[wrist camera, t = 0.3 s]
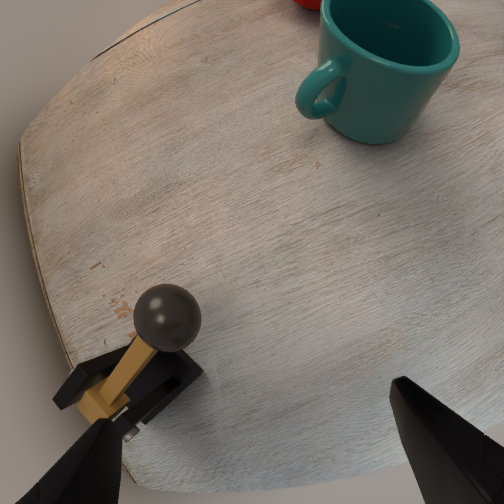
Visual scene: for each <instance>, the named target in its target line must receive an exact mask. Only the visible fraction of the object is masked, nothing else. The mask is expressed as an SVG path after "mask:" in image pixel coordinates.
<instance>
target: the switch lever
mask: <svg viewBox="0 0 504 504" xmlns="http://www.w3.org/2000/svg"><path fill="white" fill-rule="evenodd" d="M133 318H134V326H135V329H136V331H137V333H138V336H137V337H136V339H135V340H134V341H133V343H132V344H131V346H130V347H129V349H128V350H127V352H126V353H125V354H124V356H123V357H122V359H121V360H120V362H119V363H118V365H117V366H116V368H115V369H114V371H113V372H112V373H111V375H110V376H108V377H107V378H105V379H104V380H102V381H101V382H99V383H97V384H96V385H94V386H93V387H91V388H90V389H88V390H87V391H85V393H84V395H83V397H82V398H81V400H80V402H79V404H78V406H77V408H78V409H79V411H81V413H82V414H83V415H84V416H85V418H86V419H87V420H88V421H89V422H90V423H91V424H93V423H94V422H95V421H96V420H97V419H99V418H109V419H111V420H112V419H113V418H115V417H116V416H117V415H118V414H119V413H120V412H121V411H122V410H123V409H124V408H125V406H126V405H127V404H128V403H129V402H130V401H131V400H130V399H129V397H128V396H127V395H126V394H125V393H124V392H125V391H126V389H127V388H128V387H129V386H130V385H131V383H132V382H133V381H134V380H135V378H136V377H137V376H138V375H139V373H140V372H141V371H142V370H143V369H144V367H145V366H146V365H147V364H148V362H149V361H150V360H151V359H152V358H153V356H154V355H155V354H156V353H157V351H161V352H175V351H179V350H182V349H184V348H185V347H187V346H189V345H190V344H191V343H192V342H193V341H194V339H195V338H196V337H197V335H198V333H199V330H200V327H201V311H200V308H199V305H198V303H197V301H196V300H195V298H194V297H193V296H192V295H191V294H190V293H189V292H188V291H187V290H185V289H184V288H182V287H180V286H177V285H173V284H160V285H156V286H153V287H151V288H150V289H148V290H147V291H145V292H144V293H143V294H142V295H141V297H140V298H139V299H138V301H137V303H136V305H135V309H134V315H133Z"/></svg>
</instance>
